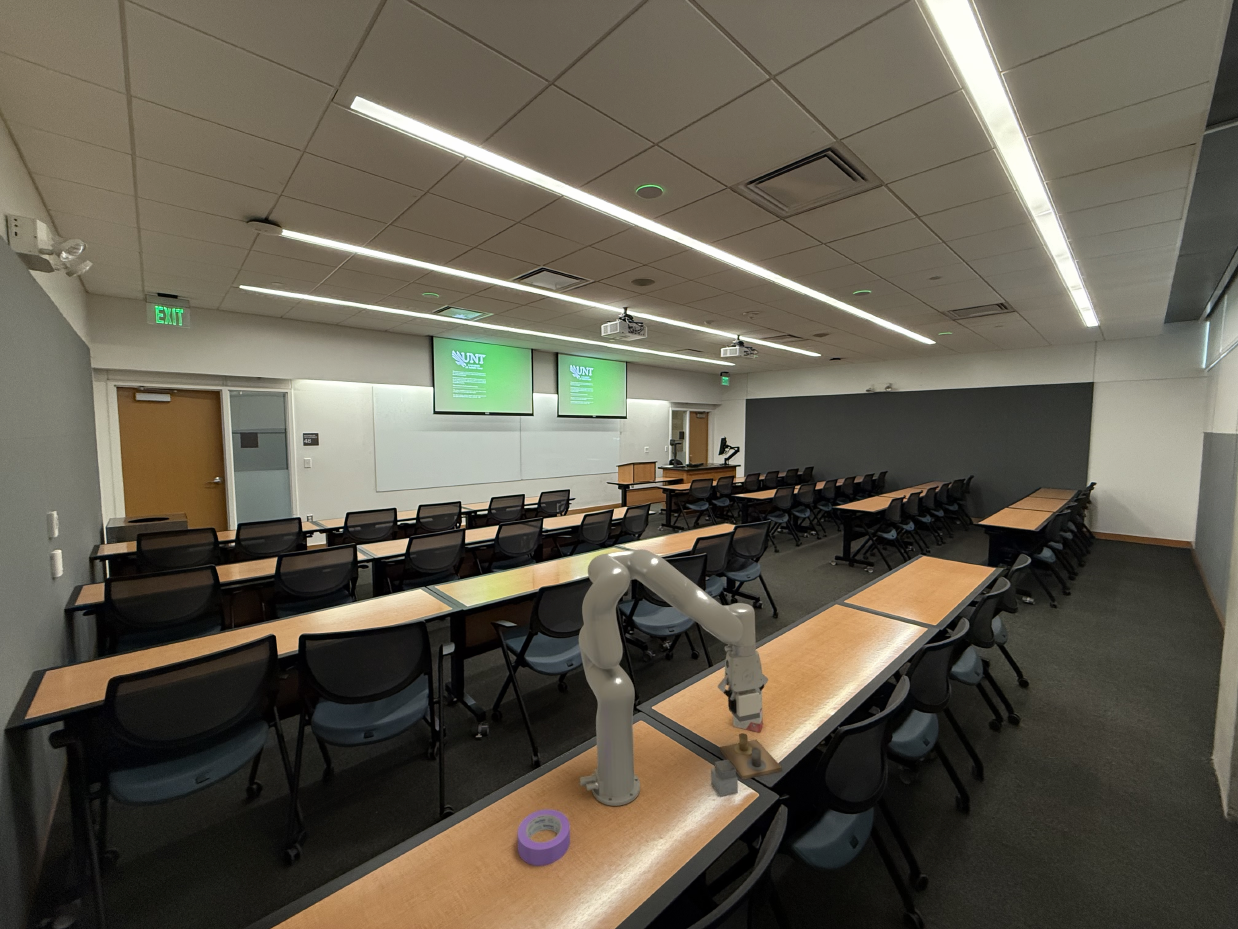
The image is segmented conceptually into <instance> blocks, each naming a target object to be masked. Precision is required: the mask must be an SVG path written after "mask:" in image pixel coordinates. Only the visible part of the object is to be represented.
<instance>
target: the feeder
mask: <svg viewBox="0 0 1238 929" xmlns="http://www.w3.org/2000/svg"><path fill="white" fill-rule="evenodd" d="M710 778H711V779H710V780H711V786H712V787H713V788H714V790H715V792H716V793H717V795H718V796H719V798H722V797H726V796H730V795H735V794H738V793H739V792H738V791H739V787H738V786H739V785H738V784H739V783H738V776H737V772H736V769H735V767H734V766H733V765H732V763H731V762H730V761H729V760H727V759H724V760H719V761H714V768H711V769H710Z"/></svg>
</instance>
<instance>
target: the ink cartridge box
mask: <svg viewBox="0 0 1238 929" xmlns="http://www.w3.org/2000/svg"><path fill="white" fill-rule="evenodd" d="M759 700H760V718H756V719H751V720H747V721H742V722H739V721H738V719H737V718H736V717H735V716H734V715H733V714H732V724H733V726H732V727H735V728H739V729H743V730H747V731H752V732H755V733H761V731H762V729H763V726H764V720H763V719H764V718H763V717H764V714H763V690H762V691H761V694H760V695H759Z"/></svg>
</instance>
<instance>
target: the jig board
mask: <svg viewBox="0 0 1238 929" xmlns="http://www.w3.org/2000/svg"><path fill="white" fill-rule="evenodd" d="M748 737H749V736H748V735H747V734H746V733H744V732H741V733H739V735H738V742H737V743H732V744H729V745H728V744H727V745H723V746H719V750H720V752H721V754H722V755H723V756H724V758H725V760H729V761H730V762H731V763H732V765H733V766H734V767H735V769H736V774H737V775H738V776H739V777H740V779H741V780H748V779H752V778H756V777H760V776H765V775H771V774H774V773H778V772H779V773H780V772H783V767H782V766H781V764H779V762H778V761H777V760H776V759H775V758H774V757H773V755H771V753H769V752H768V750H767V749H766V748H765V747H764V746H763V745H762V744H761V742H759V740H758V739H751V740H748Z"/></svg>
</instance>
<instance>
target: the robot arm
mask: <svg viewBox="0 0 1238 929" xmlns="http://www.w3.org/2000/svg"><path fill="white" fill-rule="evenodd" d="M587 575H588V578H589V580H590V582H591V583H592V584H591V586H590V587H589V589H588V591H586V593H585V596H584V598H583V602H582V606H581V608H582V610H581V611H582V620H583V625H582V627H581V629H580V630H579V635H578V645H579V651H580V656H581V660H582V666H583V670H584V674H585V678H586V681H587V683H588V685H589V687H590V688H591V690H592V693H593V694H594V695H595V698H596V700H597V711H596V717H595V725H596V726H595V729H596V730H595V733H596V755H597V756H596V757H597V758H596V759H597V760H596V761H597V762H596V763H597V764H596V765H597V768H596V767H595V768H594V773H591V774H590V775H588V776H587V775H586V776H585V775H584V776H582V777H579V785H580V787H583V786H584V787H585V788H586V791H592V794H593V796H594V798H595V799H596V800H597V801H599V803H602V804H603V805H607V806H613V807H616V806H617V807H618V806H622V805H623V806H625V805H626V804H630V803H631V802H632V801H634V800H635V799H636V798H637V797H638V795H639V794H640V791H641V782H640V779H639V777H638V775H636V774H635V767H634V766H635V763H634V761H635V760H634V758H635V757H634V756H635V755H634V728H633V727H634V726H633V725H634V724H633V723H634V721H633V718H634V716H633V714H634V712H633V711H634V703H635V698H636V697H635V695H636V694H635V687H634V684H633V682H632V680H631V678H630V676H629V675H628V674H627V672H626V671H625V670H624V669H623V668H622V667H621V666H620V663H621V660H622V659H623V652H624V651H623V644H622V639H621V638H622V637H621V635H620V629H619V624H618V620H617V605H618V602H619V601H620V599H621V598H622V597H623V595H624V594H625V593H626V592H627V590H628V588H629V587H630V582H631V580H637V581H639V582H640V583H642V584H643V586H645V587H647V588H648V589H649V590H650V591H652V592H653V593H655V594H656V595H657V596H658V597H660V598H661V599H663V600H664V601H665V602H666V603H667V604H669V605H670V606H671V607H673V608H674V609H675V610H677V612H679V613H681V614H682V615H684V616H686V617H688V618H689V619H692V620H693V621H694V622H696V623H698V625H700V626H701V627H702V629H704V630H705V631H706V632H708V633H709V634H711V635H712V636H714V637H715V638H716V639H718V640H719V641H721V642H722V643H723V644H727V645H726V646H724V650H725V652H726V655H725V656H726V657H725V663H724V677H723V678H722V680H721V681H720V682H719V684H718V685H717V689H719V690H720V692H722V693H723V694H724V695H725V696H726V697H727V703H728V704H727V706H728V710H729V709H730V710H731V711H732V712H733V713H734V714H736V713H737V711H736V700H735V696H736V693H737V692H741V691H746V690H751V689H755V690H756V691H757V692H758V693H759V695H760V694H761V691H762V692H763V689H764V688H765V685H766V684H767V683H768V681H769V678H768V677H767V676H766V675H765V674H763V667H762V661H761V657H760V652H759V651H758V650H756V647H757V646H756V616H755V615H756V613H755V609H754V607H753V606H752V605H750V604H747V603H743V602H739V603H738V602H737V603H736V602H735V603H732V604H730V605H722V604H720V602H718V601H717V600H716V599H715V598H714V597H712V596H710V595H709V594H708V593H707V592H705V590H704V589H702V588H701V587H699V586H698V584H696V583H694V582H693V581H692V580H691V579H689V578H688V577H686V576H685V575H684V574H683V573H681V571H679V570H677V569H676V568H675V567H674V566H673V565H672V564H670V563H669V562H668V561H667V560H665V558H663V557H661V556H659V555H658V554H656V553H654V552H652V551H650V550H648V549H639V548H638V549H631V550H623V551H617V552H608V553H601V554H599V555H597V556H595V557H593V558H592V559H591V561H590V562H589V564H588V566H587ZM726 686H727V689H726Z"/></svg>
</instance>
